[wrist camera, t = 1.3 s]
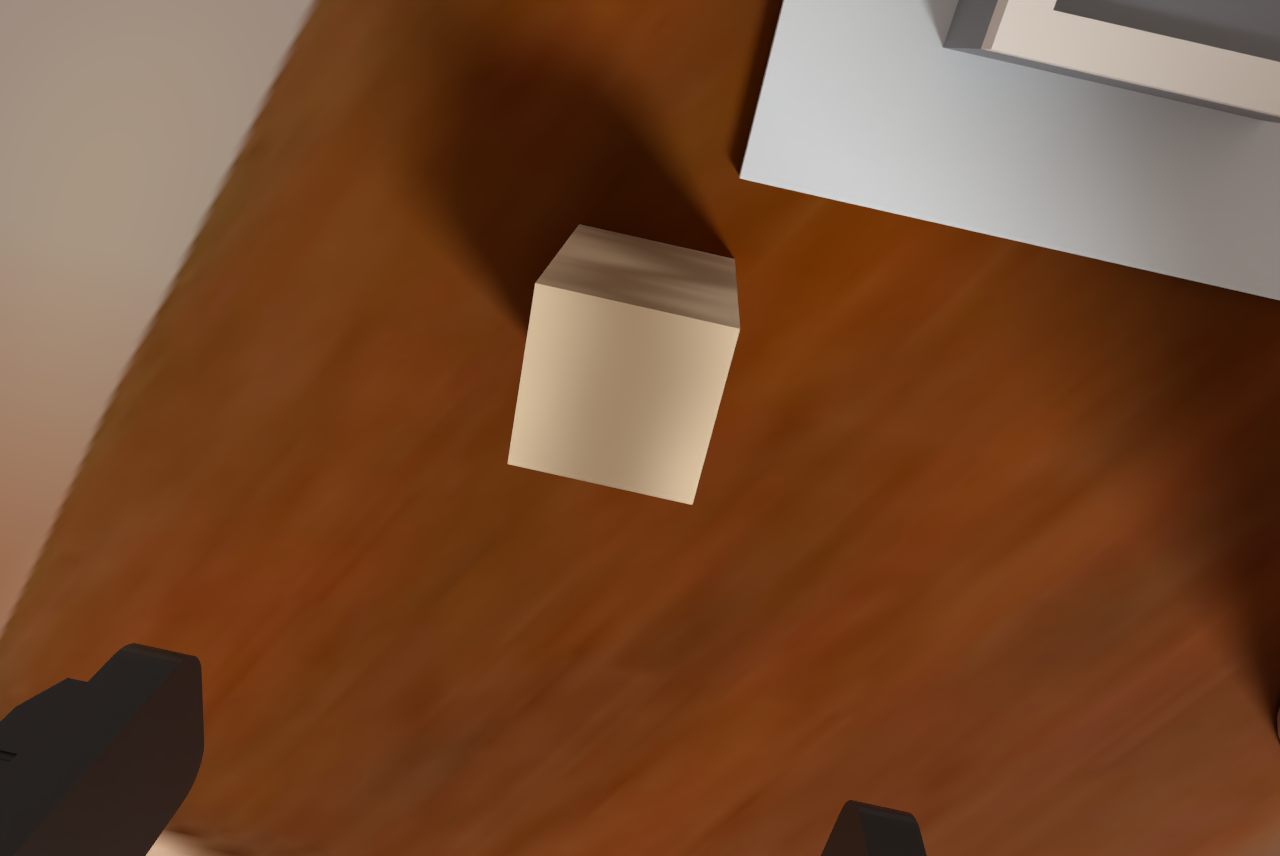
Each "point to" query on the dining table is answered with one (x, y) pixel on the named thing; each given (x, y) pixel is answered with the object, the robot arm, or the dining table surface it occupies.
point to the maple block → (626, 363)
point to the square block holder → (1041, 124)
